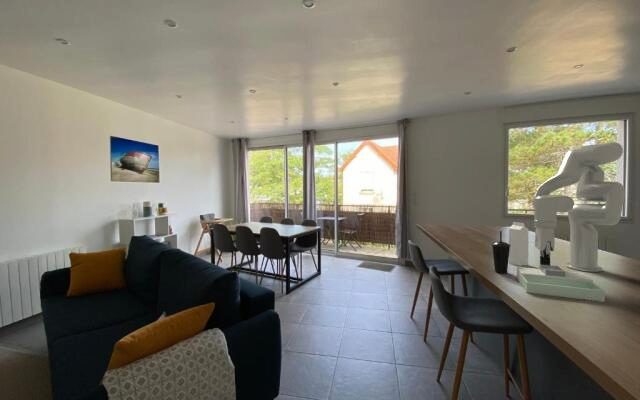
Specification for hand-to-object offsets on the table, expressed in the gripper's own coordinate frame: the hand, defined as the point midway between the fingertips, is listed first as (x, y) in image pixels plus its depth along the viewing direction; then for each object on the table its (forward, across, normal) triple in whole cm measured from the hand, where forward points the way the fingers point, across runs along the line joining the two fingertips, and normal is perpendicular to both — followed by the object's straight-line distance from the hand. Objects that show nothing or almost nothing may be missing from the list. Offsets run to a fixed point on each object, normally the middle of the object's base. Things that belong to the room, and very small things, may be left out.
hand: (545, 265), depth 117 cm
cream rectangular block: (+6, +9, 0) cm, 11 cm away
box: (+6, +18, 0) cm, 19 cm away
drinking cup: (+6, -2, -16) cm, 17 cm away
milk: (+6, -21, -6) cm, 22 cm away
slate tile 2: (+1, +11, 0) cm, 11 cm away
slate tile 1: (+1, +7, 0) cm, 7 cm away
